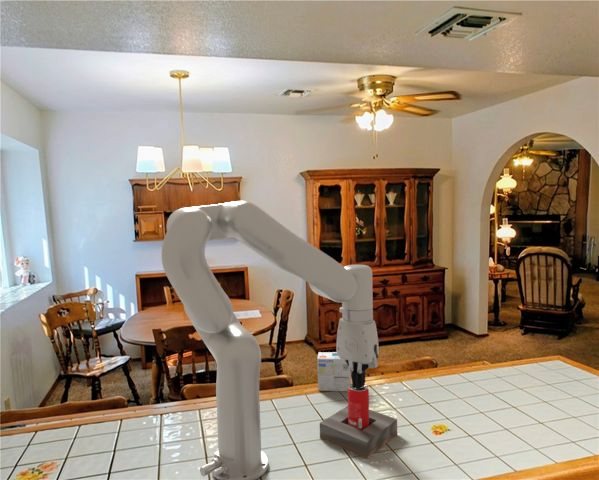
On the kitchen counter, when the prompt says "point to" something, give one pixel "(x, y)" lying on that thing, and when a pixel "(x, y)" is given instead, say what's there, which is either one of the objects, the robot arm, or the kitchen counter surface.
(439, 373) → the kitchen counter surface
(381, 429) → the socket block
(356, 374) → the robot arm
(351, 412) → the beverage can
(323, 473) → the kitchen counter surface
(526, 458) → the kitchen counter surface
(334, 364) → the light bulb box
